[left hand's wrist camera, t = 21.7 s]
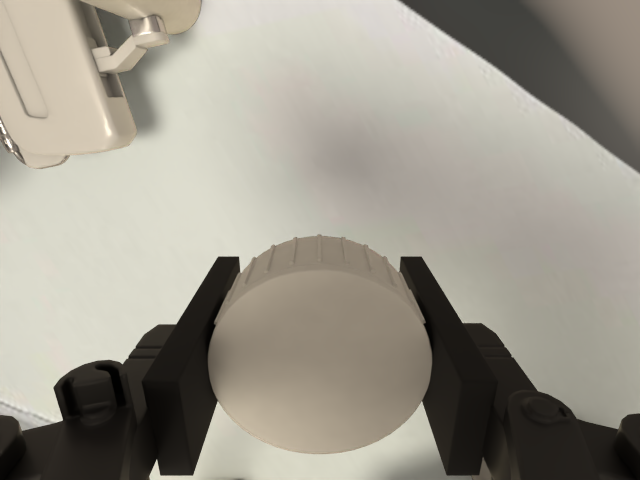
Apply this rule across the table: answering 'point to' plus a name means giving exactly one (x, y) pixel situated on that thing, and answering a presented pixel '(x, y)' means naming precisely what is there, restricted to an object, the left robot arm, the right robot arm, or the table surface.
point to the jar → (155, 11)
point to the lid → (319, 347)
